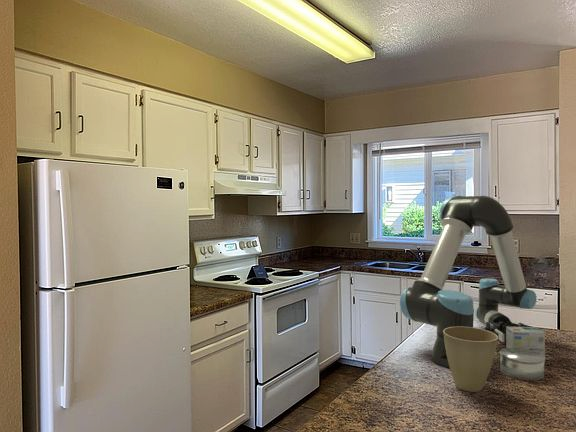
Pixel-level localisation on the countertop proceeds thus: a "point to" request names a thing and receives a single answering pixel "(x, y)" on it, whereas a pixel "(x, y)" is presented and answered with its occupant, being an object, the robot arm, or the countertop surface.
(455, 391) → the countertop surface
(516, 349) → the cookie tin
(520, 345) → the light bulb box
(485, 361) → the plant pot
